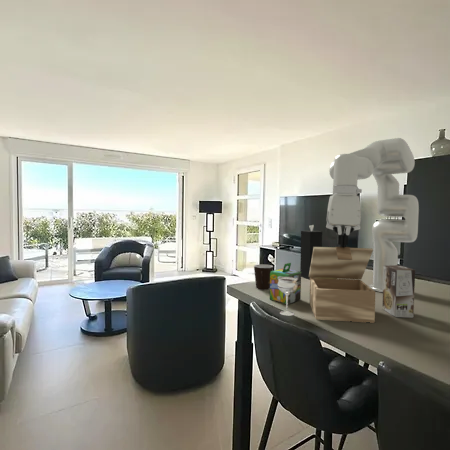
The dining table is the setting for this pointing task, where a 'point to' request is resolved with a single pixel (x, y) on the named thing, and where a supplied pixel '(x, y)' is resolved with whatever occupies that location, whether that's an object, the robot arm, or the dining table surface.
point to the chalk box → (274, 290)
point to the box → (342, 300)
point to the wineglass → (287, 290)
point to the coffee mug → (262, 276)
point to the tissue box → (308, 249)
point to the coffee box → (398, 290)
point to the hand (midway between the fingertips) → (342, 246)
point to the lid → (339, 262)
